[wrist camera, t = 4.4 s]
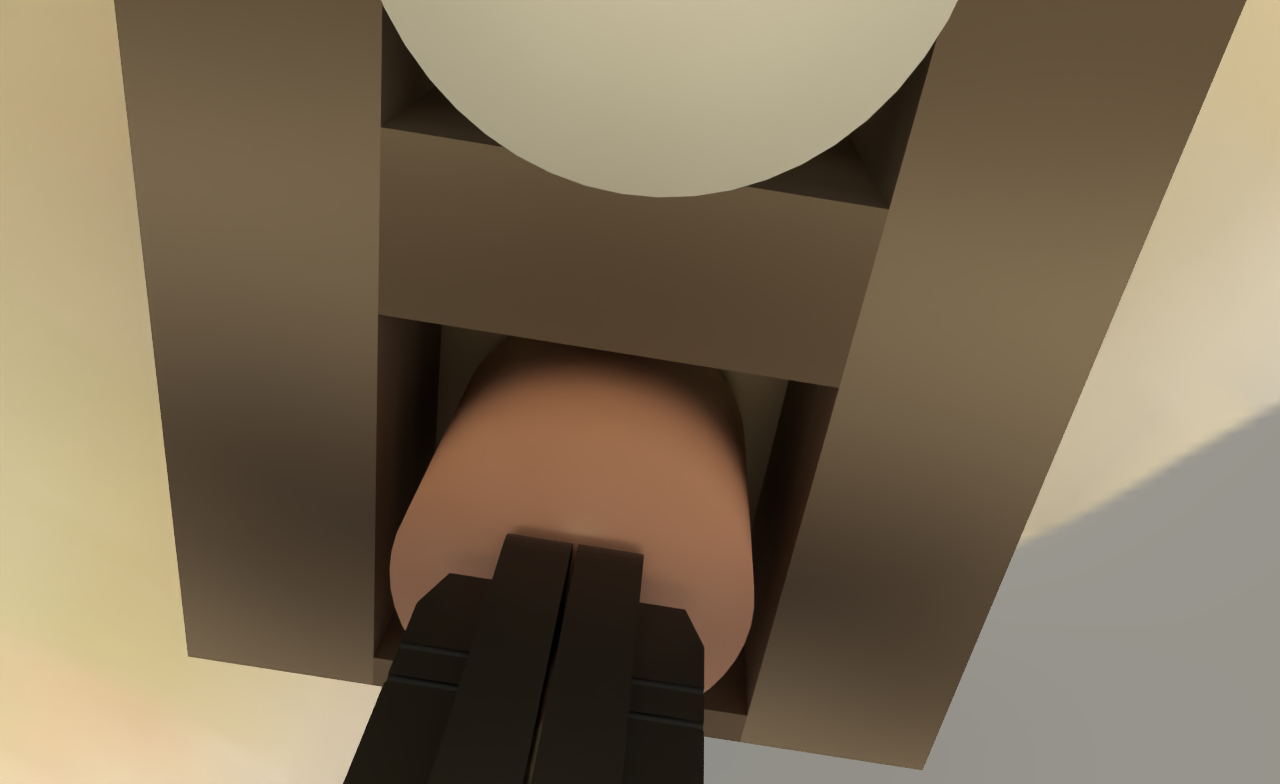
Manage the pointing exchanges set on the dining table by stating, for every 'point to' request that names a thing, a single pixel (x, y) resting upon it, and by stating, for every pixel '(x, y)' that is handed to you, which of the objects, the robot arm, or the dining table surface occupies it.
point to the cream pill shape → (668, 80)
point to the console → (645, 326)
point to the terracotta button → (592, 481)
